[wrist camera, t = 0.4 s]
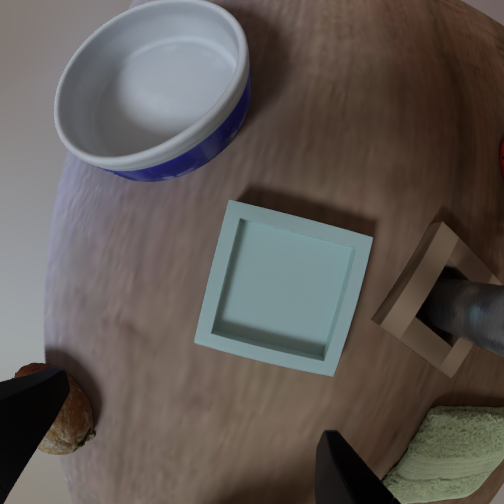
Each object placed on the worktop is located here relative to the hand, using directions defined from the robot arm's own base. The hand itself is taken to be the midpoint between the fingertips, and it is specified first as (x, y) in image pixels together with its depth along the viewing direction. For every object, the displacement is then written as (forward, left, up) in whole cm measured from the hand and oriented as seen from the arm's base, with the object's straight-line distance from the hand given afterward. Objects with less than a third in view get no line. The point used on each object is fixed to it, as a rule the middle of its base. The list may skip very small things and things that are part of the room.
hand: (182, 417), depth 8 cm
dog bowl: (+18, +5, -14) cm, 24 cm away
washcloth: (-17, -23, -14) cm, 32 cm away
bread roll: (-10, +19, -14) cm, 26 cm away
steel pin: (0, -17, -13) cm, 21 cm away
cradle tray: (+2, -4, -13) cm, 14 cm away
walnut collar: (0, -17, -13) cm, 21 cm away
